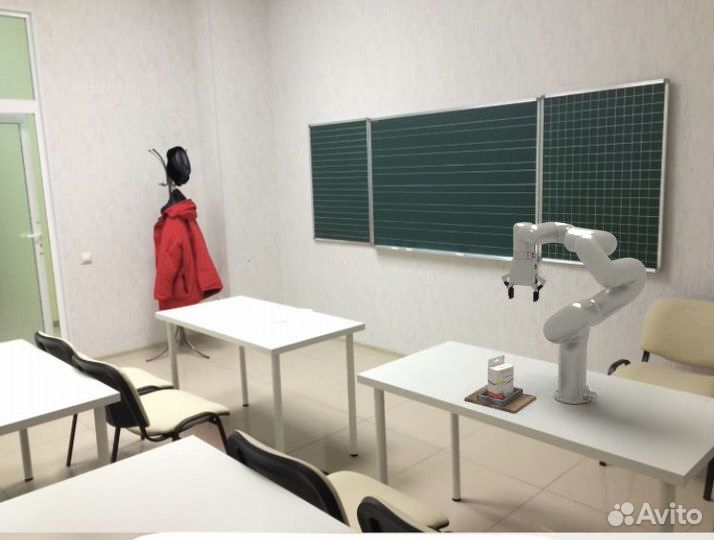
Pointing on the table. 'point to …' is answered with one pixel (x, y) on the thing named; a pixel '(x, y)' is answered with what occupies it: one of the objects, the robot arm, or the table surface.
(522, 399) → the dock
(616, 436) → the table surface
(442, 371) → the table surface
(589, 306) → the robot arm
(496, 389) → the ink cartridge box
